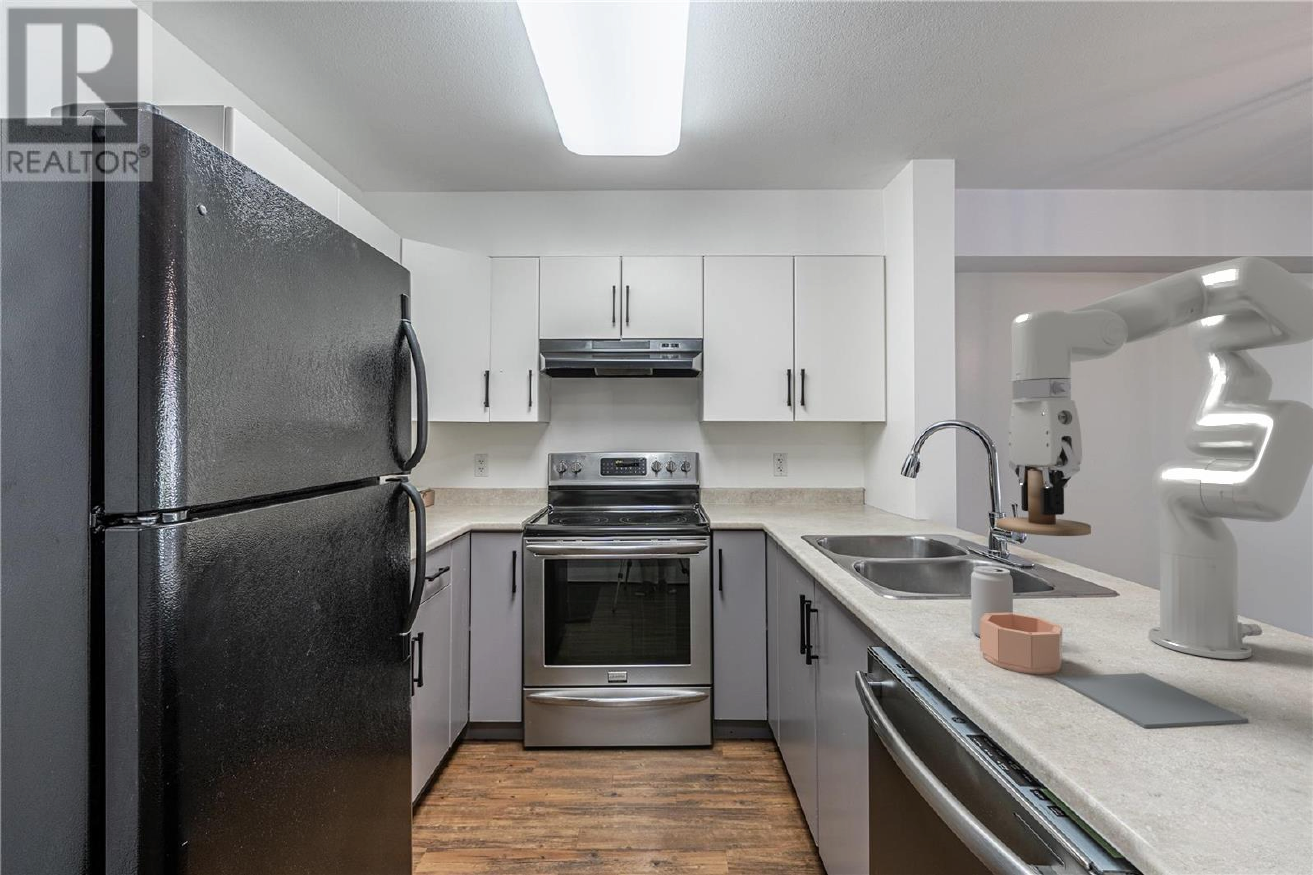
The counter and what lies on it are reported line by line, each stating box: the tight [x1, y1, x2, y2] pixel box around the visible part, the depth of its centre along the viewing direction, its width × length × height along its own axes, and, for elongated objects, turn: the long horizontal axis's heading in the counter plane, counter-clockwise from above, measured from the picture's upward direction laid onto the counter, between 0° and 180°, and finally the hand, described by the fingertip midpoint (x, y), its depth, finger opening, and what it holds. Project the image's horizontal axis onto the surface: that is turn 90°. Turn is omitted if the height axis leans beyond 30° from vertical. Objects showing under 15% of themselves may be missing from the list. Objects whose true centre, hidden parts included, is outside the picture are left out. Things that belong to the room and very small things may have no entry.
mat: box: [1054, 672, 1250, 729], centre depth 77 cm, size 14×14×1 cm
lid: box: [996, 469, 1092, 537], centre depth 88 cm, size 12×12×9 cm
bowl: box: [979, 612, 1063, 676], centre depth 91 cm, size 10×10×6 cm
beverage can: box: [970, 565, 1014, 638], centre depth 102 cm, size 6×6×12 cm
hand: (1042, 511), depth 88 cm, fingers closed on lid, 3 cm apart
